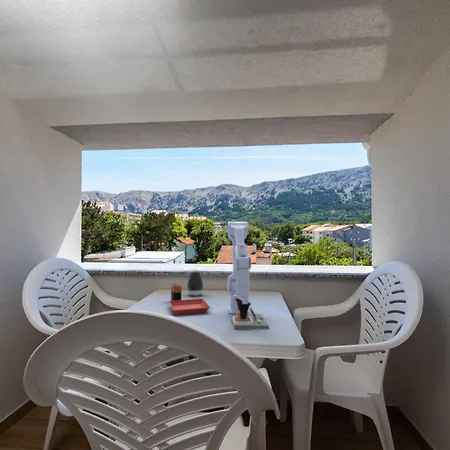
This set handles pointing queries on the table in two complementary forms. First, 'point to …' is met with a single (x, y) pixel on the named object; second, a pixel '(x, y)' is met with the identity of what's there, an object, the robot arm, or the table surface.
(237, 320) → the pink cube
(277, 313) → the table surface
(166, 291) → the table surface
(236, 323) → the panel
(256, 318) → the lever
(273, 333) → the table surface
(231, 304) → the robot arm
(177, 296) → the battery
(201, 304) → the plant saucer
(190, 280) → the dark grey egg shape
